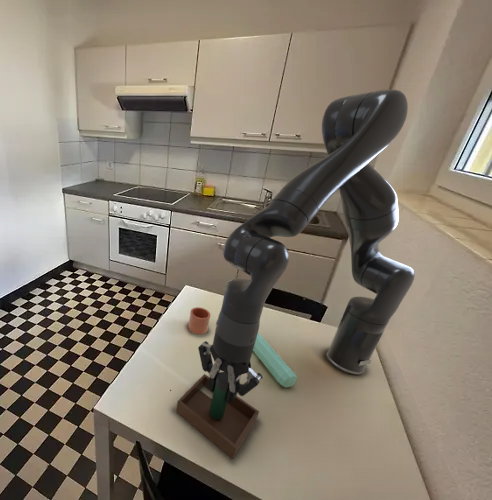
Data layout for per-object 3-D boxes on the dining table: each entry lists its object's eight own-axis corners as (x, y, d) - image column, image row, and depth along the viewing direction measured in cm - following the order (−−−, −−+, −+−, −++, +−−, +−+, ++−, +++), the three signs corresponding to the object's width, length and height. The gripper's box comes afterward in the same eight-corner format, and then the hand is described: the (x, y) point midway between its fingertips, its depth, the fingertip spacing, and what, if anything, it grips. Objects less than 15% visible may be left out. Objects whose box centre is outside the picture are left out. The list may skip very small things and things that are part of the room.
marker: (213, 404, 65) (221, 369, 61) (226, 413, 63) (235, 378, 59) (206, 413, 63) (213, 377, 59) (219, 423, 61) (228, 387, 57)
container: (301, 371, 69) (245, 310, 91) (280, 381, 69) (228, 318, 91) (302, 385, 72) (247, 323, 94) (282, 395, 72) (231, 330, 94)
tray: (202, 383, 72) (204, 373, 70) (255, 421, 63) (259, 411, 62) (176, 411, 64) (177, 401, 63) (232, 459, 56) (236, 448, 54)
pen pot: (195, 320, 96) (197, 305, 93) (210, 329, 92) (213, 313, 89) (184, 328, 91) (186, 312, 89) (200, 338, 88) (203, 321, 85)
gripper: (280, 341, 52) (259, 404, 59) (214, 307, 61) (202, 366, 68) (264, 361, 47) (243, 429, 54) (194, 322, 56) (184, 384, 63)
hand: (220, 394), depth 61 cm, fingers closed on marker, 3 cm apart
